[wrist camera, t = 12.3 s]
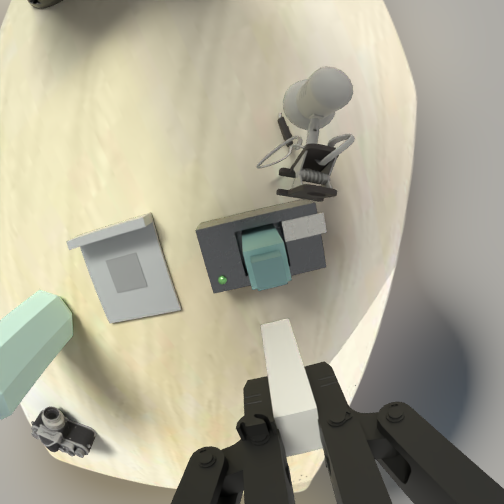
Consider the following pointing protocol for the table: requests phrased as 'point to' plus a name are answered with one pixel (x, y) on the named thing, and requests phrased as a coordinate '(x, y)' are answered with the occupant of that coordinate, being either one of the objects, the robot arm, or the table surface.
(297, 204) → the port
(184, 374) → the table surface
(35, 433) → the camera
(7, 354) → the water bottle
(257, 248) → the plug
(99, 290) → the grey lipped plate
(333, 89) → the clip-on lamp
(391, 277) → the table surface
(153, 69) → the table surface
